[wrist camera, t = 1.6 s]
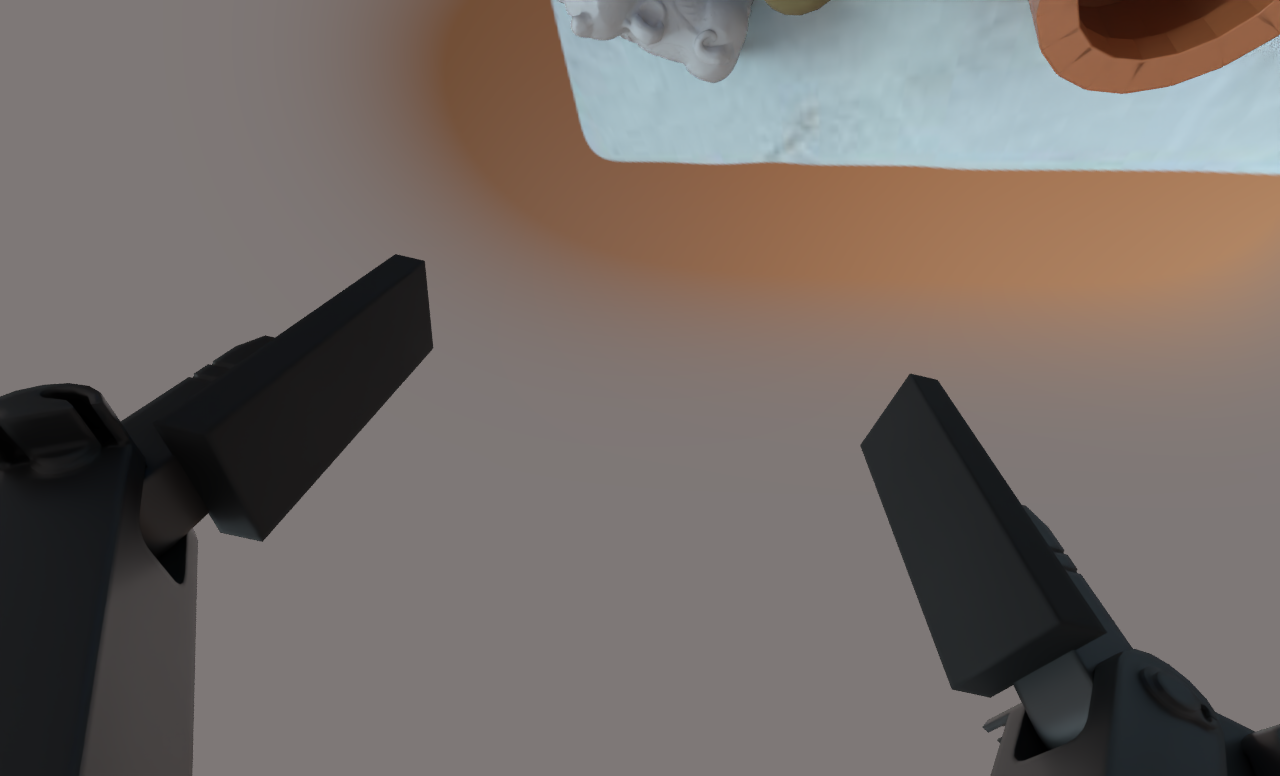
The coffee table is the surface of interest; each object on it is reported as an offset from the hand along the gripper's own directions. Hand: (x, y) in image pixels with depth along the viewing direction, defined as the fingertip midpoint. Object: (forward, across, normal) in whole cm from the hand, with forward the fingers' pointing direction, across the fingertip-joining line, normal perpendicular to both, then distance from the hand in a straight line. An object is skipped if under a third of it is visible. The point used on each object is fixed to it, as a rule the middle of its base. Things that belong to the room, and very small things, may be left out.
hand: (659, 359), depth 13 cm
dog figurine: (+34, -3, +10) cm, 36 cm away
